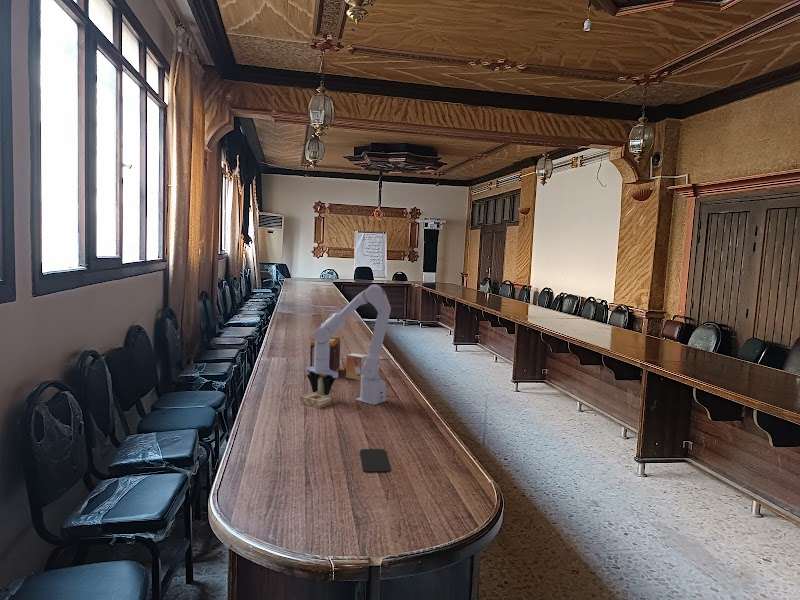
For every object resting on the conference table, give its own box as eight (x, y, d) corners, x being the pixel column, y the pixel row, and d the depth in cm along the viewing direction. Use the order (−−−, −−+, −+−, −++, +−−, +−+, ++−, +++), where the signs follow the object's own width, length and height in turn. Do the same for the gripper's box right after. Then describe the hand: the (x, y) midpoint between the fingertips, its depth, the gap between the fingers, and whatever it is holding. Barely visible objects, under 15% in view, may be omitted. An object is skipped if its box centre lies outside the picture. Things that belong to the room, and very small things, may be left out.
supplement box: (339, 369, 255) (340, 336, 253) (332, 377, 240) (333, 342, 238) (318, 367, 256) (318, 335, 254) (309, 375, 241) (310, 341, 239)
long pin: (325, 398, 208) (326, 378, 207) (321, 399, 206) (321, 380, 205) (320, 396, 210) (321, 377, 209) (316, 398, 207) (316, 378, 207)
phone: (363, 471, 143) (359, 449, 157) (362, 474, 143) (359, 451, 158) (390, 470, 144) (384, 448, 159) (390, 473, 144) (384, 451, 159)
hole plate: (331, 404, 200) (331, 398, 200) (319, 408, 195) (319, 401, 195) (311, 399, 206) (311, 392, 206) (300, 402, 201) (300, 396, 201)
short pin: (339, 401, 204) (339, 391, 204) (334, 403, 202) (334, 392, 202) (334, 400, 206) (334, 390, 205) (329, 401, 203) (329, 391, 203)
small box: (345, 378, 239) (346, 354, 238) (352, 375, 244) (353, 352, 243) (360, 380, 235) (361, 357, 234) (367, 378, 240) (368, 354, 239)
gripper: (343, 359, 206) (342, 394, 207) (314, 353, 213) (313, 387, 215) (331, 362, 200) (330, 398, 201) (301, 356, 207) (301, 391, 209)
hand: (321, 393), depth 208 cm, fingers open, 5 cm apart
